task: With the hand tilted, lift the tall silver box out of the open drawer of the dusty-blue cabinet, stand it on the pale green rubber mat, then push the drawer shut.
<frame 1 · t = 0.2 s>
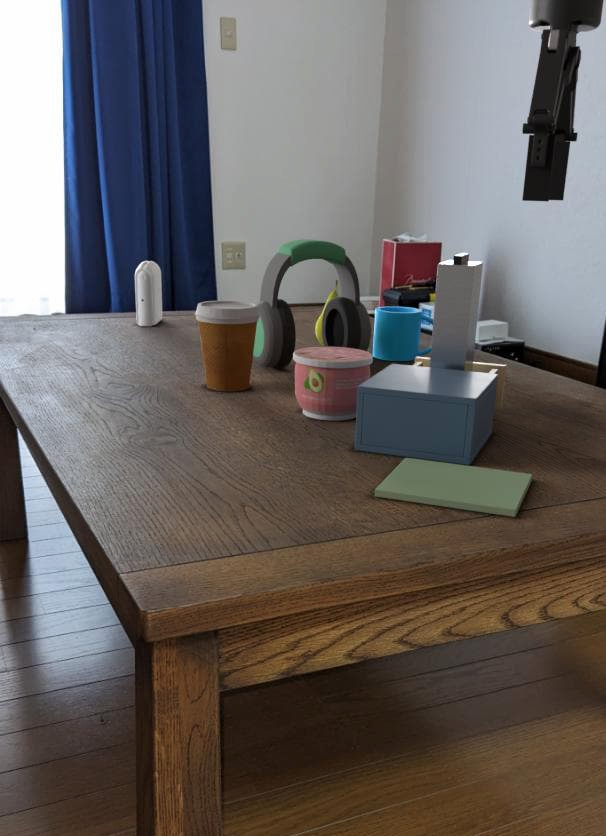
hand: (543, 201, 103), 28 cm above the table, tool pointing down, fingers open, 13 cm apart
mug: (406, 358, 159), on the table
container: (330, 414, 121), on the table
white pill-shaped pillar: (149, 323, 187), on the table
fruit: (330, 349, 166), on the table
mat: (455, 488, 93), on the table
silver box: (448, 404, 119), point 2 cm above the table, touching drawer
disposable coffee cup: (228, 388, 134), on the table
headphones: (308, 366, 151), on the table
drawer: (452, 388, 120), point 4 cm above the table, slide at 10.0 cm, touching silver box
cabinet: (425, 441, 109), on the table
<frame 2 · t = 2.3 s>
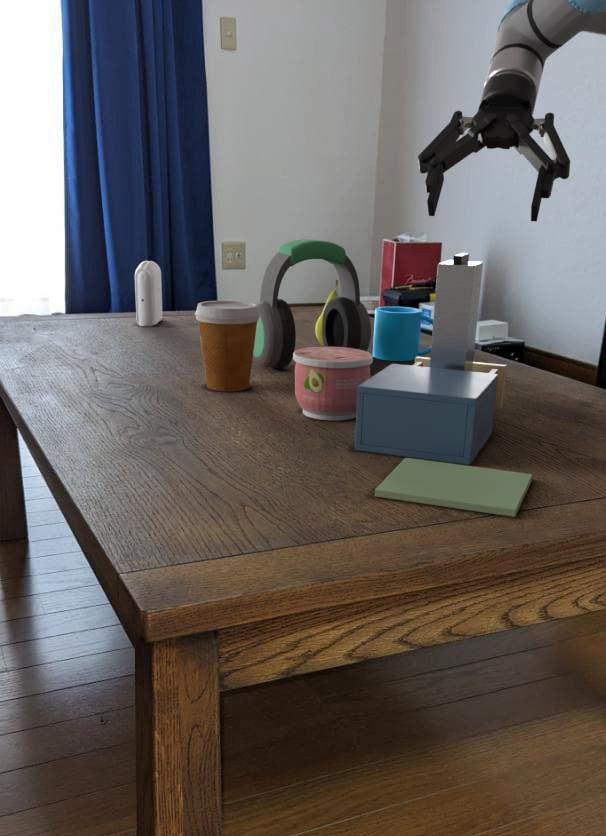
hand: (481, 211, 118), 26 cm above the table, tool tilted 45°, fingers open, 13 cm apart
nothing on the table moved.
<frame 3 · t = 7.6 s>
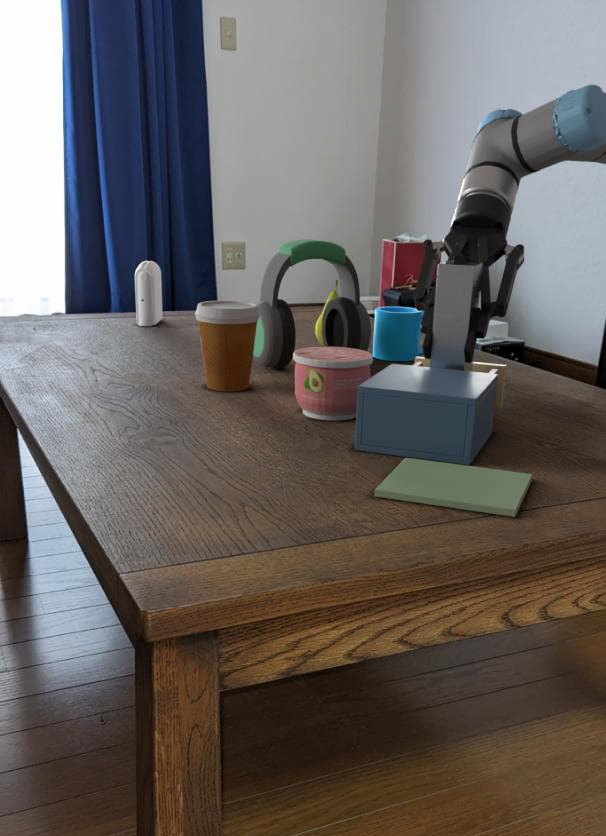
hand: (446, 354, 113), 9 cm above the table, tool tilted 45°, fingers closed on silver box, 4 cm apart
silver box: (448, 404, 119), point 2 cm above the table, touching drawer, gripper
everything else where it was.
when the fingers open (8 cm above the table, at t = 19.8 s): silver box stays where it is, resting on mat.
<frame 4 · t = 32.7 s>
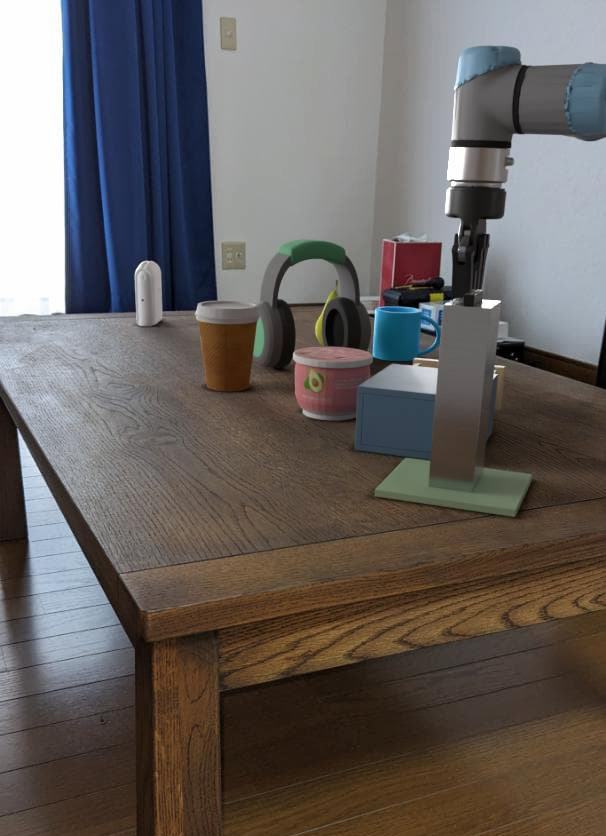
hand: (459, 370, 123), 5 cm above the table, tool pointing down, fingers closed
silver box: (455, 481, 93), point 1 cm above the table, touching mat
drawer: (450, 389, 119), point 4 cm above the table, slide at 9.0 cm, touching gripper
everything else where it was.
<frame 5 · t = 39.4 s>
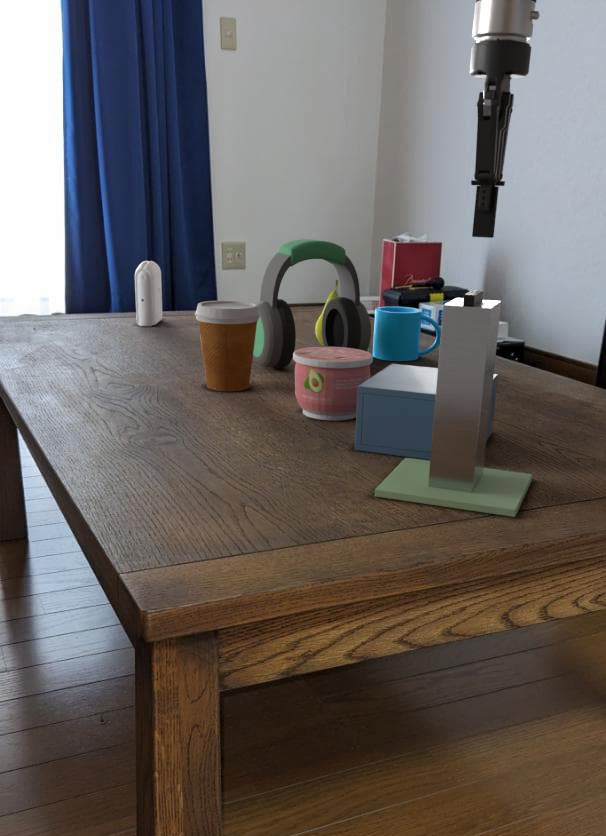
hand: (482, 236, 123), 22 cm above the table, tool pointing down, fingers closed
drawer: (435, 404, 111), point 4 cm above the table, slide at 0.0 cm
everything else where it was.
at the end: silver box inside the target area on the mat (0.1 cm from its centre), point 0.8 cm above the mat's base; silver box tilted 0°; drawer slide at 0.0 cm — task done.
